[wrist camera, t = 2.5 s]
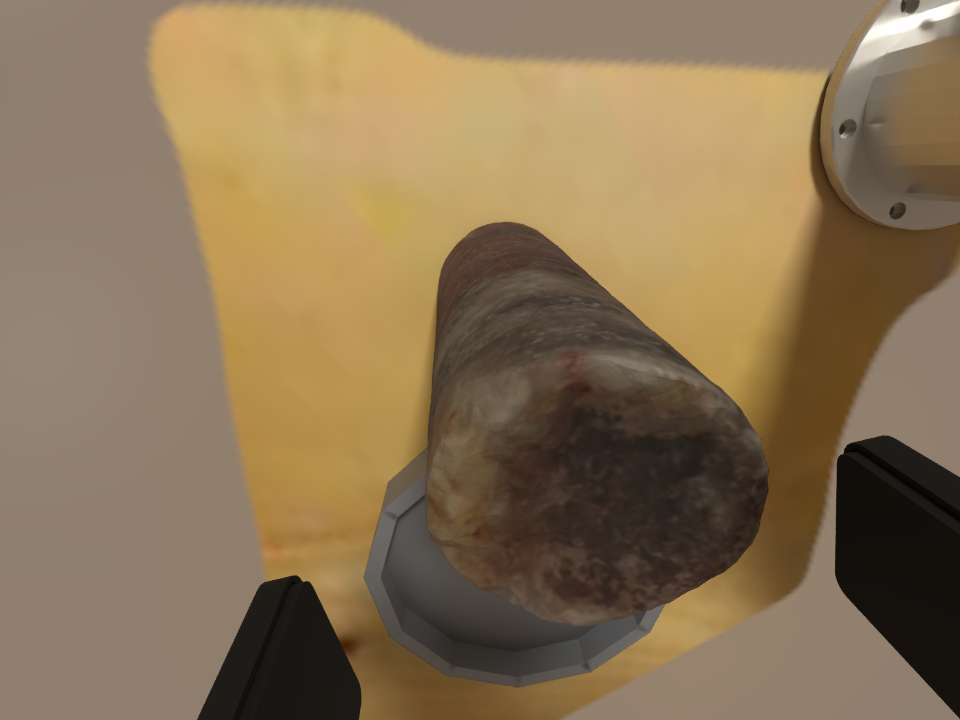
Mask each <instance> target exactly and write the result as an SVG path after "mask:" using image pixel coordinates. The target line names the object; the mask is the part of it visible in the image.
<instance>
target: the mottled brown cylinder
mask: <svg viewBox="0 0 960 720" xmlns="http://www.w3.org/2000/svg"><path fill="white" fill-rule="evenodd" d="M768 473H769V469H768V465H767V462H766V459H765V455H764V452H763V449H762V439H761V438H760V436H759V435H758V434H757V432H756V431H755V430H754V428H753V427H752V426H751V424H750V423H749V421H748V419H747V418H746V416H745V415H744V413H743V412H742V410H741V409H740V407H739V406H738V405H737V404H736V403H735V402H734V401H733V400H732V399H731V398H730V397H729V396H728V395H727V394H726V393H725V392H724V391H723V390H722V389H721V388H720V387H719V386H717V385H716V384H714V383H713V382H711V381H710V380H709V379H708V378H707V377H706V376H704V375H703V374H702V373H701V372H700V371H699V370H698V369H697V368H696V367H694V366H693V365H692V364H691V363H690V362H689V361H688V360H687V359H685V358H684V357H683V356H682V355H681V354H680V353H679V352H678V351H676V350H675V349H674V348H673V347H672V346H671V345H670V344H668V343H667V342H666V341H665V340H664V339H662V338H661V337H660V336H659V335H657V334H656V333H655V332H654V331H652V330H651V329H649V328H648V327H647V326H646V325H645V324H644V323H643V322H642V321H641V320H640V319H639V318H638V317H636V316H635V315H634V314H633V313H632V312H631V311H630V310H629V309H628V308H626V307H625V306H624V305H623V304H622V303H621V302H620V301H618V300H617V299H616V298H614V297H613V296H612V295H611V294H610V293H609V292H608V291H607V290H606V289H605V288H604V287H602V286H601V285H600V284H599V283H598V282H597V281H596V280H595V279H593V278H592V277H591V276H590V275H589V274H588V273H587V272H586V271H585V270H584V269H582V268H581V267H580V266H579V265H578V264H576V263H575V262H574V261H573V260H572V259H571V258H570V257H569V256H568V255H567V254H566V253H565V252H564V251H562V250H561V249H560V248H559V247H558V246H557V245H555V244H554V243H553V242H551V241H550V240H549V239H548V238H546V237H545V236H544V235H543V234H541V233H540V232H539V231H537V230H535V229H533V228H531V227H528V226H526V225H524V224H519V223H513V222H502V223H491V224H487V225H484V226H481V227H479V228H477V229H475V230H473V231H471V232H470V233H469V234H468V235H467V236H466V237H464V238H463V239H462V240H461V241H460V242H459V243H458V244H457V245H456V246H455V247H454V249H453V250H452V251H451V253H450V254H449V255H448V257H447V258H446V260H445V262H444V264H443V267H442V270H441V274H440V278H439V286H438V297H437V326H436V340H435V352H434V363H433V375H432V396H431V406H430V414H429V425H428V457H427V468H426V479H425V513H426V524H427V527H428V531H429V533H430V536H431V539H432V541H433V542H434V543H435V544H436V545H437V546H438V548H439V549H440V551H441V553H442V554H443V556H444V558H445V559H446V561H447V562H448V563H449V564H450V565H451V566H452V567H453V568H454V569H455V570H456V571H457V572H458V574H459V575H461V576H463V577H464V578H466V579H467V580H468V581H469V582H470V583H471V584H473V585H474V586H475V587H476V588H477V589H482V590H486V591H489V592H491V593H493V594H495V595H498V596H500V597H502V598H504V599H506V600H507V601H509V602H510V603H512V604H514V605H515V606H517V607H519V608H521V609H523V610H526V611H528V612H531V613H533V614H535V615H537V616H538V617H540V618H541V619H544V620H548V621H552V622H559V623H566V624H570V625H574V626H586V625H595V624H599V623H604V622H609V621H614V620H619V619H622V618H626V617H629V616H631V615H633V614H635V613H637V612H641V611H648V610H652V609H654V608H656V607H658V606H660V605H664V604H667V603H670V602H671V601H673V600H675V599H676V598H678V597H680V596H681V595H683V594H685V593H686V592H688V591H690V590H693V589H695V588H697V587H699V586H700V585H702V584H703V583H705V582H706V581H708V580H709V579H711V578H713V577H715V576H717V575H719V574H721V573H723V572H725V571H726V570H727V569H728V568H730V567H731V566H732V565H733V564H734V563H736V562H737V561H738V559H739V558H740V557H741V555H742V554H743V553H744V552H745V550H746V549H747V548H748V547H749V546H750V545H751V544H752V542H753V540H754V538H755V536H756V535H757V533H758V530H759V525H760V520H761V516H762V512H763V509H764V505H765V501H766V498H767V494H768V480H767V478H768Z"/></svg>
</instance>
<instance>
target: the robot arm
mask: <svg viewBox="0 0 960 720" xmlns="http://www.w3.org/2000/svg"><path fill="white" fill-rule="evenodd" d="M820 145H821V152H822V160H823V165H824V167H825V170H826V173H827V176H828V179H829V181H830V184H831V185H832V187H833V188H834V190H835V192H836V193H837V195H838V196H839V198H840V199H841V201H843V202H844V203H845V204H846V205H847V206H848V207H849V208H850V209H851V210H852V211H853V212H854V213H856V214H857V215H859V216H861V217H863V218H865V219H867V220H868V221H870V222H872V223H876V224H880V225H883V226H887V227H891V228H900V229H909V230H924V229H936V228H940V227H944V226H949V225H953V224H957V223H959V222H960V0H882V1H881V2H880V3H879V4H878V5H877V6H876V7H875V8H874V9H873V10H872V11H871V12H870V13H869V14H868V15H867V17H866V18H865V19H864V21H863V22H862V23H861V25H860V26H859V27H858V29H857V30H856V31H855V33H854V34H853V35H852V37H851V38H850V40H849V42H848V44H847V46H846V47H845V49H844V51H843V53H842V55H841V56H840V58H839V60H838V61H837V64H836V66H835V69H834V72H833V74H832V77H831V79H830V82H829V85H828V87H827V90H826V95H825V100H824V104H823V109H822V113H821V127H820ZM836 489H837V492H836V546H835V547H836V548H835V575H836V579H837V582H838V584H839V586H840V588H841V590H842V591H843V593H844V594H845V595H846V597H847V598H848V599H849V600H850V601H851V602H852V603H853V604H854V605H855V606H856V607H857V608H858V610H859V611H860V612H861V613H862V614H863V615H864V616H865V617H866V618H867V619H868V620H869V621H870V623H871V624H872V625H873V626H874V627H875V628H876V629H877V630H878V631H879V632H880V633H881V634H882V635H883V637H885V639H886V640H887V641H888V642H889V643H890V644H891V645H892V646H893V647H894V648H895V649H896V651H898V653H899V654H900V655H901V656H902V657H903V658H904V659H905V660H906V661H907V662H908V663H909V665H910V666H911V667H912V668H913V669H914V670H915V671H916V672H917V673H918V674H919V675H920V676H921V677H922V678H923V680H924V681H925V682H926V683H927V684H928V685H929V686H930V687H931V688H932V689H933V690H934V691H935V692H936V693H937V695H938V696H939V697H940V698H941V699H942V700H943V701H944V702H945V703H946V704H947V705H948V706H949V708H950V709H951V710H952V711H953V712H954V713H955V714H956V715H957V716H958V717H959V718H960V477H958V476H957V475H955V474H953V473H952V472H950V471H948V470H947V469H945V468H943V467H942V466H940V465H938V464H937V463H935V462H933V461H932V460H930V459H928V458H927V457H925V456H923V455H922V454H920V453H918V452H916V451H915V450H913V449H912V448H910V447H908V446H906V445H905V444H903V443H902V442H900V441H898V440H897V439H895V438H893V437H890V436H879V437H875V438H870V439H866V440H862V441H858V442H853V443H850V444H848V445H847V446H846V448H845V449H844V454H842V455H840V456H839V457H838V460H837V488H836ZM360 709H361V688H360V684H359V681H358V679H357V677H356V675H355V673H354V671H353V669H352V666H351V664H350V662H349V660H348V658H347V656H346V654H345V652H344V650H343V648H342V646H341V644H340V642H339V640H338V638H337V635H336V633H335V631H334V629H333V627H332V625H331V623H330V621H329V619H328V617H327V615H326V613H325V611H324V609H323V606H322V604H321V602H320V600H319V598H318V596H317V594H316V592H315V590H314V588H313V586H312V584H311V583H310V582H308V581H305V582H302V580H301V579H300V577H298V576H297V575H293V576H289V577H285V578H281V579H276V580H272V581H268V582H264V583H263V584H261V585H260V587H259V588H258V590H257V592H256V594H255V596H254V598H253V601H252V603H251V605H250V607H249V609H248V611H247V613H246V616H245V618H244V620H243V622H242V624H241V626H240V629H239V631H238V633H237V635H236V637H235V639H234V641H233V644H232V646H231V648H230V650H229V652H228V654H227V656H226V659H225V661H224V663H223V665H222V667H221V669H220V672H219V674H218V676H217V678H216V680H215V682H214V685H213V687H212V689H211V691H210V693H209V695H208V697H207V699H206V702H205V704H204V706H203V708H202V710H201V713H200V714H199V717H198V719H197V720H359V715H360Z"/></svg>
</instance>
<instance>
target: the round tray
mask: <svg viewBox="0 0 960 720" xmlns="http://www.w3.org/2000/svg"><path fill="white" fill-rule="evenodd" d="M427 457H428V447H427V448H426V449H425V450H424V451H423V452H422V453H421V454H420V455H418V456H417V457H416V458H415V459H414V460H413V461H412V462H410V463H409V464H408V465H407V466H406V467H405V468H404V469H403V470H401V471H400V472H399V473H398V474H397V475H396V476H395V477H394V478H392V479H391V480H390V481H389V482H388V485H387V489H386V493H385V497H384V501H383V504H382V508H381V512H380V516H379V520H378V523H377V527H376V531H375V535H374V539H373V542H372V546H371V550H370V554H369V558H368V563H367V567H366V571H365V575H364V579H365V581H366V584H367V586H368V588H369V591H370V593H371V595H372V598H373V600H374V602H375V605H376V607H377V609H378V612H379V614H380V616H381V618H382V621H383V623H384V625H385V628H386V630H387V632H388V635H389V637H390V638H392V639H393V640H395V641H396V642H398V643H399V644H401V645H402V646H403V647H405V648H406V649H408V650H409V651H411V652H412V653H414V654H415V655H417V656H418V657H420V658H421V659H423V660H424V661H426V662H427V663H428V664H430V665H431V666H433V667H434V668H436V669H437V670H439V671H440V672H442V673H443V674H445V675H447V676H453V677H459V678H465V679H471V680H477V681H483V682H489V683H495V684H501V685H507V686H513V687H522V686H526V685H531V684H536V683H541V682H546V681H551V680H555V679H560V678H565V677H570V676H575V675H580V674H584V673H589V672H592V671H593V670H595V669H596V668H598V667H599V666H600V665H602V664H603V663H605V662H606V661H608V660H609V659H611V658H612V657H614V656H615V655H617V654H618V653H620V652H621V651H623V650H624V649H626V648H627V647H629V646H630V645H632V644H633V643H635V642H636V641H638V640H639V639H641V638H642V637H644V636H645V635H647V634H648V633H650V631H651V630H652V628H653V626H654V624H655V622H656V620H657V619H658V617H659V615H660V613H661V611H662V609H663V608H664V606H665V604H664V605H660V606H658V607H656V608H654V609H652V610H648V611H641V612H637V613H635V614H633V615H631V616H629V617H626V618H622V619H619V620H614V621H609V622H604V623H599V624H595V625H586V626H574V625H570V624H566V623H559V622H552V621H548V620H544V619H541V618H540V617H538V616H537V615H535V614H533V613H531V612H528V611H526V610H523V609H521V608H519V607H517V606H515V605H514V604H512V603H510V602H509V601H507V600H506V599H504V598H502V597H500V596H498V595H495V594H493V593H491V592H489V591H486V590H482V589H477V588H476V587H475V586H474V585H473V584H471V583H470V582H469V581H468V580H467V579H466V578H464V577H463V576H461V575H459V574H458V572H457V571H456V570H455V569H454V568H453V567H452V566H451V565H450V564H449V563H448V562H447V561H446V559H445V558H444V556H443V554H442V553H441V551H440V549H439V548H438V546H437V545H436V544H435V543H434V542H433V541H432V539H431V536H430V533H429V531H428V527H427V524H426V513H425V479H426V468H427Z"/></svg>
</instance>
